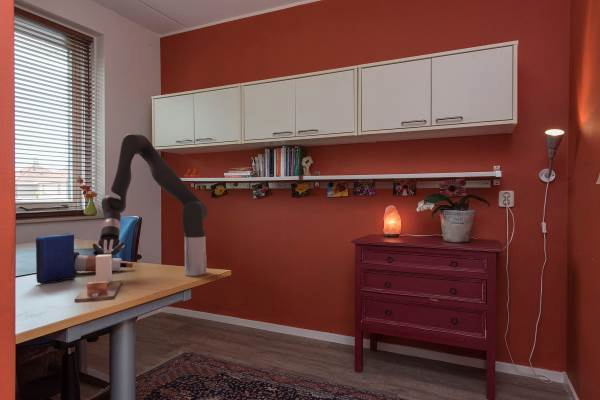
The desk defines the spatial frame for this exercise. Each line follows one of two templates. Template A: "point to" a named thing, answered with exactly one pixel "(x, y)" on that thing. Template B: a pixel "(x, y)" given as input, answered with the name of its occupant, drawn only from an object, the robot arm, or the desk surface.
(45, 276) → the book
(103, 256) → the sleeve
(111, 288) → the rail board
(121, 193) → the robot arm
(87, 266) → the grey brown bottle
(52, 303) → the desk surface
